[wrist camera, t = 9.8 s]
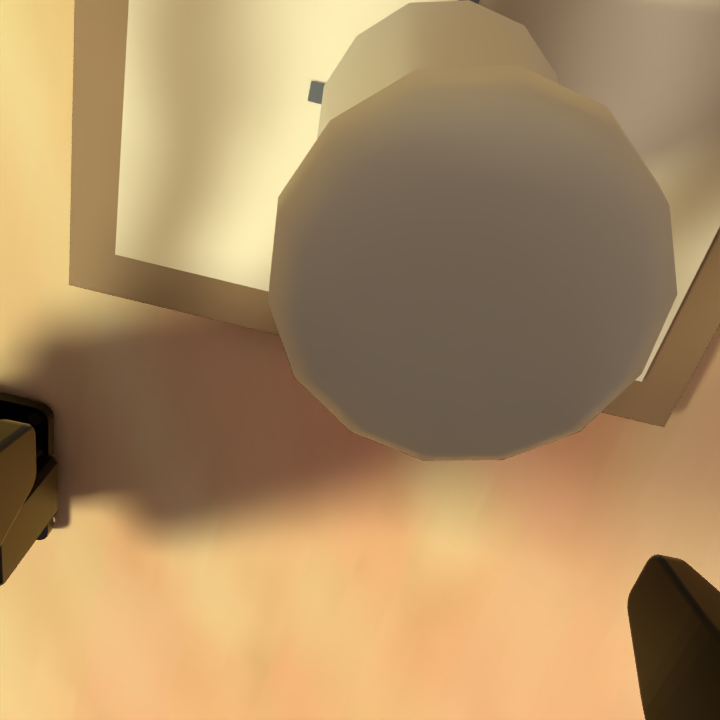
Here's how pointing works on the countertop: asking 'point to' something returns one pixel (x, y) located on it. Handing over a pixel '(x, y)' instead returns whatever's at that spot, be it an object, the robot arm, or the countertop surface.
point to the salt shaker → (467, 243)
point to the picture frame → (299, 133)
